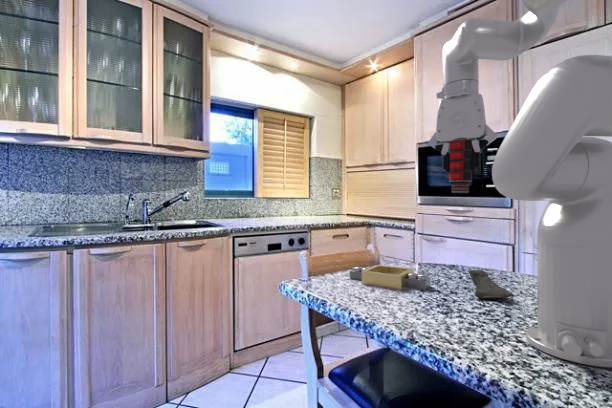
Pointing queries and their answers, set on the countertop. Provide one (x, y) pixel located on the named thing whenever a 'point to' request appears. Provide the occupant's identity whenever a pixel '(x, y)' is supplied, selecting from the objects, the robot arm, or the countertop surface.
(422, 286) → the chain joint
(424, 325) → the countertop surface
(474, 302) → the countertop surface
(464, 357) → the countertop surface
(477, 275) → the tool
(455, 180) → the grenade
